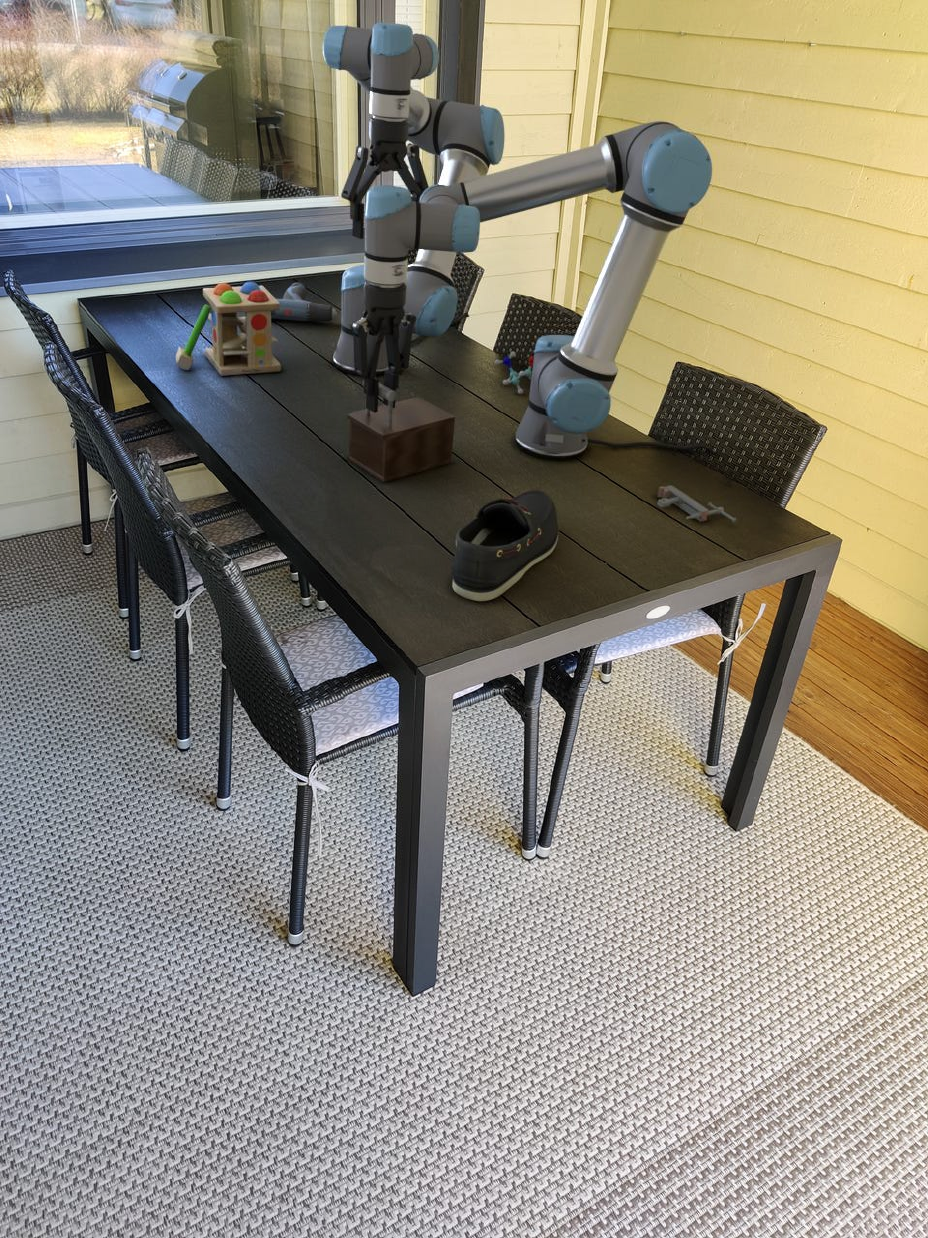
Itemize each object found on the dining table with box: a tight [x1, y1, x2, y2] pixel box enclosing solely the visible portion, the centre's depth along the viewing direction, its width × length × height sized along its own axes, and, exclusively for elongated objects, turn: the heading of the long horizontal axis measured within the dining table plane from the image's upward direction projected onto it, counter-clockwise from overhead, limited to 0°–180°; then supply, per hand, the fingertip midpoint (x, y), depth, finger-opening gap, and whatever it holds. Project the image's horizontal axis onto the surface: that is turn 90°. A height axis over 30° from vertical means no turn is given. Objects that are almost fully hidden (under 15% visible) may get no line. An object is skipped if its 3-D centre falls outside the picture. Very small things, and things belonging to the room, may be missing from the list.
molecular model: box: [494, 351, 534, 395], centre depth 232 cm, size 12×10×10 cm
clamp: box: [656, 485, 738, 523], centre depth 187 cm, size 15×2×10 cm
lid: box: [346, 380, 456, 440], centre depth 188 cm, size 18×12×8 cm, turn 131°
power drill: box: [271, 282, 338, 322], centre depth 265 cm, size 5×19×20 cm
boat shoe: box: [450, 489, 559, 602], centre depth 165 cm, size 13×33×10 cm, turn 147°
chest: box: [348, 420, 456, 483], centre depth 193 cm, size 17×12×9 cm
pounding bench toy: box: [174, 281, 282, 377], centre depth 225 cm, size 23×14×18 cm, turn 116°
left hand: (385, 234), depth 199 cm, fingers open, 13 cm apart
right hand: (380, 407), depth 185 cm, fingers open, 3 cm apart
